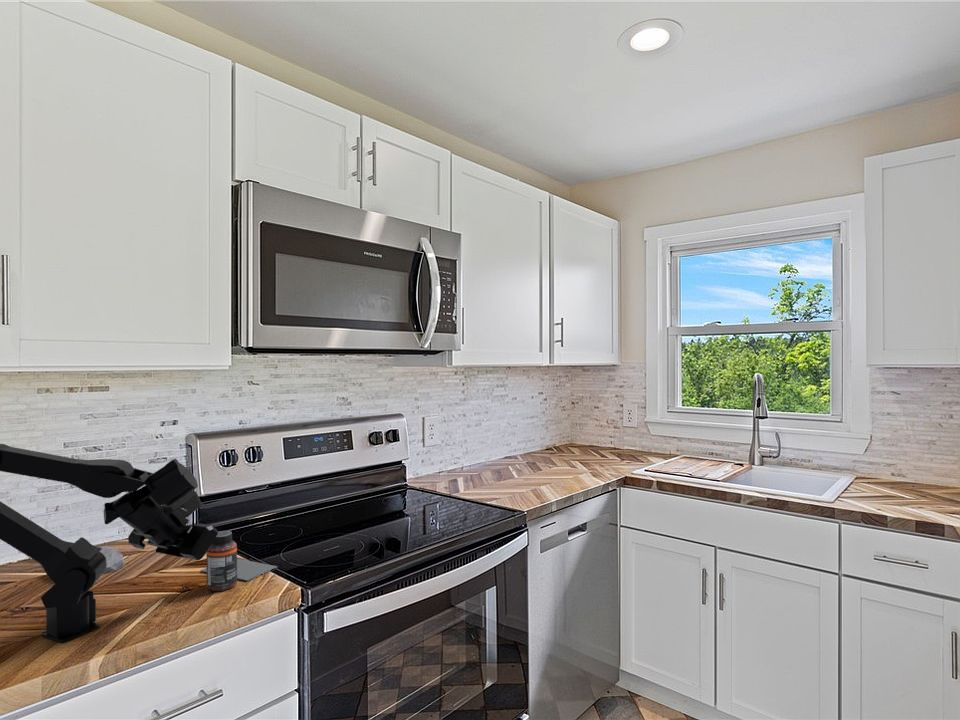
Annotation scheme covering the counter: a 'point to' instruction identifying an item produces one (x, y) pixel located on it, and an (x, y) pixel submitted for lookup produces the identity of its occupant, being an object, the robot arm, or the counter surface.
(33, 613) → the counter surface
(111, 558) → the stone block
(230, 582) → the supplement bottle
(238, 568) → the pad
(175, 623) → the counter surface
